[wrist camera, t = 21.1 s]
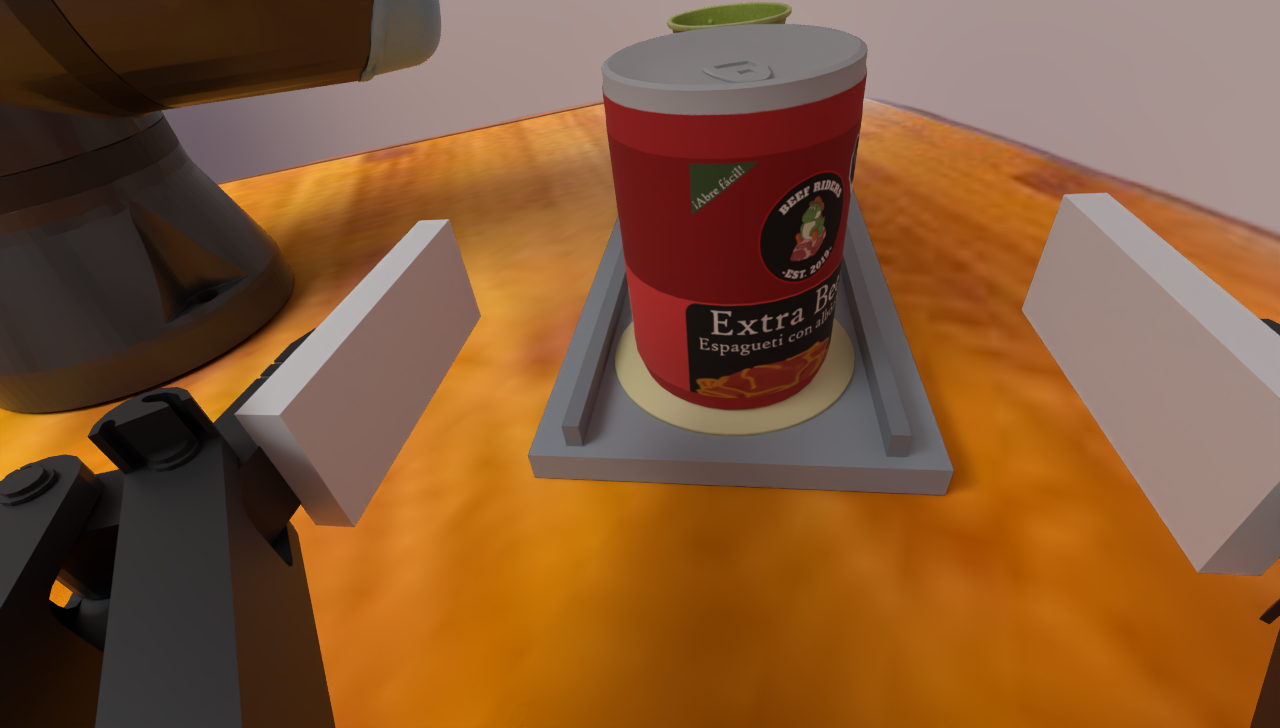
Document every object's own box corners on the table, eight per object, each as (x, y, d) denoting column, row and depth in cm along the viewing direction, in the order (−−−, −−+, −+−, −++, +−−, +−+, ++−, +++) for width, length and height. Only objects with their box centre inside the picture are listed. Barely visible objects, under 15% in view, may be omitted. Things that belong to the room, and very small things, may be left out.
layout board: (945, 495, 19) (973, 415, 17) (535, 477, 21) (511, 405, 19) (845, 194, 37) (852, 136, 35) (631, 202, 40) (625, 149, 37)
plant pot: (659, 147, 48) (650, 28, 42) (691, 112, 54) (686, 5, 49) (774, 150, 45) (779, 21, 39) (793, 112, 51) (800, -2, 46)
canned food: (705, 447, 20) (691, 107, 13) (604, 334, 25) (556, 57, 19) (874, 365, 22) (939, 41, 15) (747, 278, 28) (752, 14, 21)
